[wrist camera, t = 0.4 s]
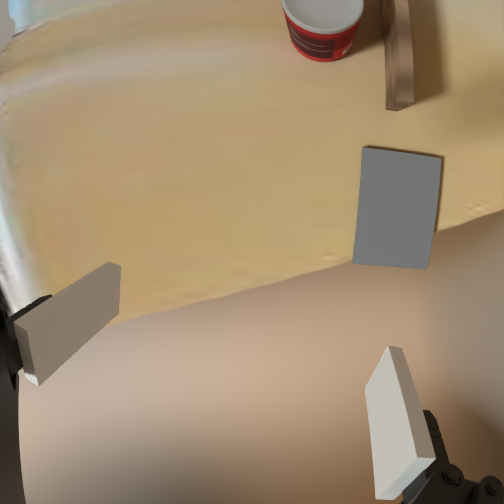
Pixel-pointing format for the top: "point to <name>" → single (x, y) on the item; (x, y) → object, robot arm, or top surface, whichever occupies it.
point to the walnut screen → (398, 54)
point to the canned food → (323, 26)
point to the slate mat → (396, 209)
